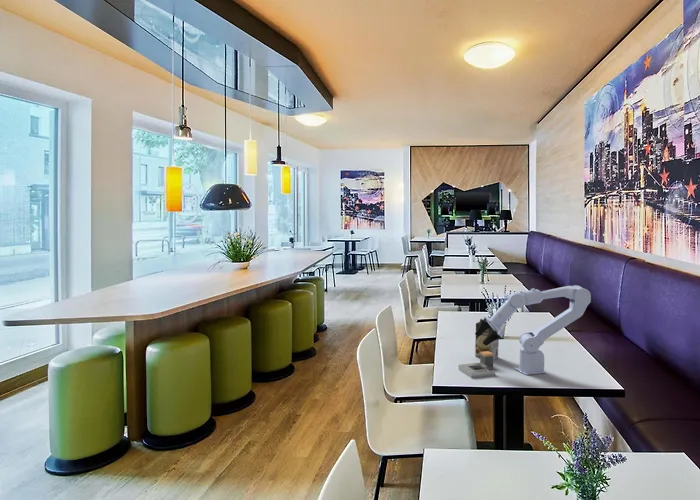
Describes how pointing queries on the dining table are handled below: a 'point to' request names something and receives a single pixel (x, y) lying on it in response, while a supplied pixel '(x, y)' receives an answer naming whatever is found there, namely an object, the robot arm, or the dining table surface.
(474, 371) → the socket plate
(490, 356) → the plug
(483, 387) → the dining table surface
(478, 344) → the coffee box
